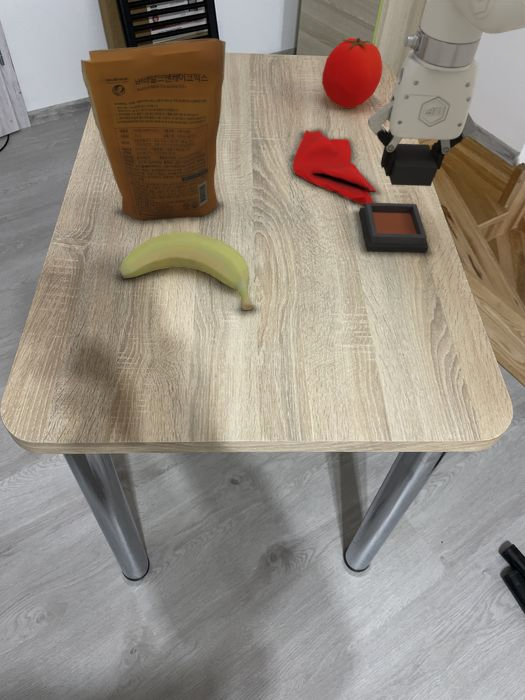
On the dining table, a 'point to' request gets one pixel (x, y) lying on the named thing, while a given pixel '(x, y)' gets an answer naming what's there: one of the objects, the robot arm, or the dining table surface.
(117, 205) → the dining table surface
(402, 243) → the base pad
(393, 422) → the dining table surface
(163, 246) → the banana
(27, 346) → the dining table surface
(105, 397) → the dining table surface
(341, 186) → the cloth
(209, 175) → the pancake mix bag
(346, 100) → the tomato
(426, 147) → the black pad
